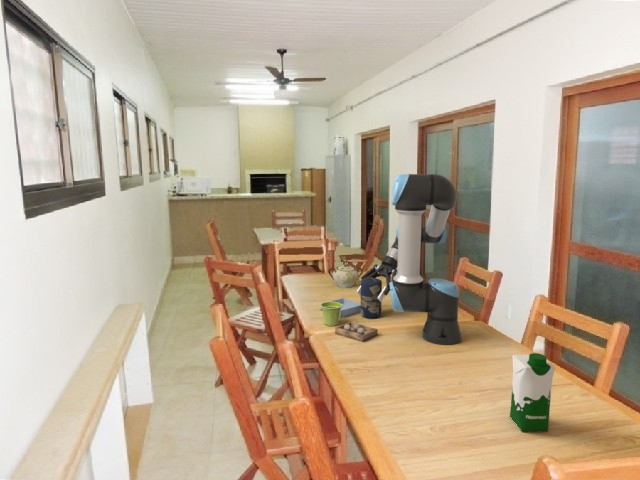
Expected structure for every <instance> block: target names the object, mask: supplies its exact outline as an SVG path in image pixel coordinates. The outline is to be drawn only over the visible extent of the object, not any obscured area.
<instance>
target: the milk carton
mask: <svg viewBox="0 0 640 480" xmlns="http://www.w3.org/2000/svg"><path fill="white" fill-rule="evenodd" d="M555 369H556V366H555V365H554V364H553V363H552V362H550V361H549V360H548V358H547V356H546V355H544V354H542V353H536V352H533V353H530V354H512V383H511V385H512V386H511V396H510V397H511V400H510V409H509V410H510V411H509V418H510V417H511V418H512V419H511V418H510V419H511V420H513V421H514V422H515V423H516V424H517V426H518V427H519V428H520V429H521V430H520V429H519V428H518V427H517V426H516V427H517V428H518V429H519V430H520V432H521V431H545V432H549V423H550V409H551V397H552V384H553V377H554V373H555ZM513 421H512V422H513ZM514 422H513V423H514ZM515 423H514V424H515ZM516 424H515V425H516Z"/></svg>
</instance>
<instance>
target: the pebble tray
mask: <svg viewBox="0 0 640 480" xmlns="http://www.w3.org/2000/svg"><path fill="white" fill-rule="evenodd" d="M378 333H379V332H378V329H377V328H375V327H371V326H367V325H363V324H360V323H356V322H353V321H348V322H346V323H343V324H341V325H338V326H336V327H335V331H334V334H336V335H339V336H340V337H341V336H343V337H345V338H349V339H352V340H355V341H357V342H362V343H364V342H366V341H368V340H370V339H372V338H375V337H377V336H378Z"/></svg>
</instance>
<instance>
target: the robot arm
mask: <svg viewBox="0 0 640 480" xmlns="http://www.w3.org/2000/svg"><path fill="white" fill-rule="evenodd" d="M391 193H392V194H391V202H390V203H391V205H392V206H394V209H395V212H396V213H397V214H398V226H397V227H396V231H395V239H394V242H393V244H392V245H391V246H390V248H389V250H387V253H386V254H385V256H384V257H383V259H382V260H381V264H380V265H378V264H376V263H375V264H374V265H373V266H372V268H370V269H369V270H367V272H366V273H364V274H362V275H361V276H360V279H361V281H362V280H363V279H366V278H376V279H377V278H379V277H382V278H385V283H386V285H385V286H384V287H383V288H382V292H381V293H380V295H379V296H378V299H379V300H380V302H381V303H382V302H383V300H384V298H385V297H386V296H388V294H389V293H390V299H391V300H390V301H391V307H392V309H393V310H394V312H400V313H427V314H426V316H427V317H426V321H425V323H424V326H423V328H422V330H421V332H422V333H421V336H422V338H423V339H424V340H425V341H427V342H430V343H432V344H435V345H436V344H437V345H443V346H444V345H445V346H446V345H455V344H458V343H460V342H461V341H462V332H461V329H460V325H459V321H458V315H459V299H460V293H459V292H460V291H459V286H458V284H457V283H455V282H453V281H450V280H447V279H444V278H443V279H442V278H435V277H433V278H429V279H428V281H427V282H424V278H423V277H422V276H421V275H420V270H421V269H420V267H421V244H435V245H436V244H445V243H446V241H447V228H446V224H447V220H448V218H449V216H450V211H451V210H452V209H453V208H454V207H455V206H456V204H457V200H458V193H457V189H456V187H455V185H454V184H453V182H452V181H451V180H450V179H448V177H446V176H444V175H442V174H437V173H433V174H430V173H426V174H425V173H416V174H415V173H405V174H398V175H396V177H395V178H394V181H393V187H392V192H391ZM427 206H431V208H430V211H429V213H428V214H429V215H428V219H427V222H426V226H422V216H423V214H424V213H425V212H426V211H427ZM356 293H357V294H358V295H359V296H361V283H360V285H359V287H358V288H357V290H356Z"/></svg>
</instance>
